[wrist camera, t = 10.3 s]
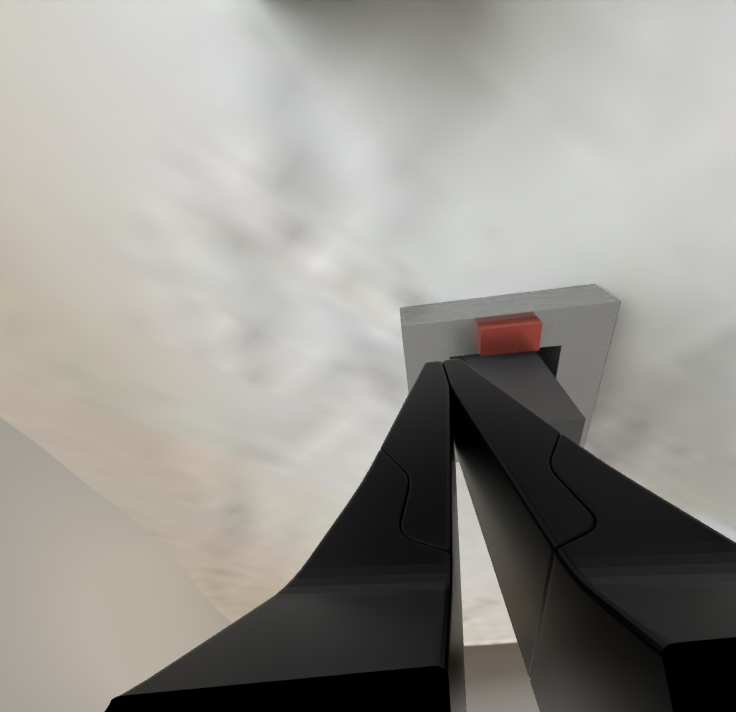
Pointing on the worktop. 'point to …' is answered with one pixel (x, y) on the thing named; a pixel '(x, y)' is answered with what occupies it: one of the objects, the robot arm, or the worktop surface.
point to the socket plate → (520, 335)
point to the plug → (532, 388)
